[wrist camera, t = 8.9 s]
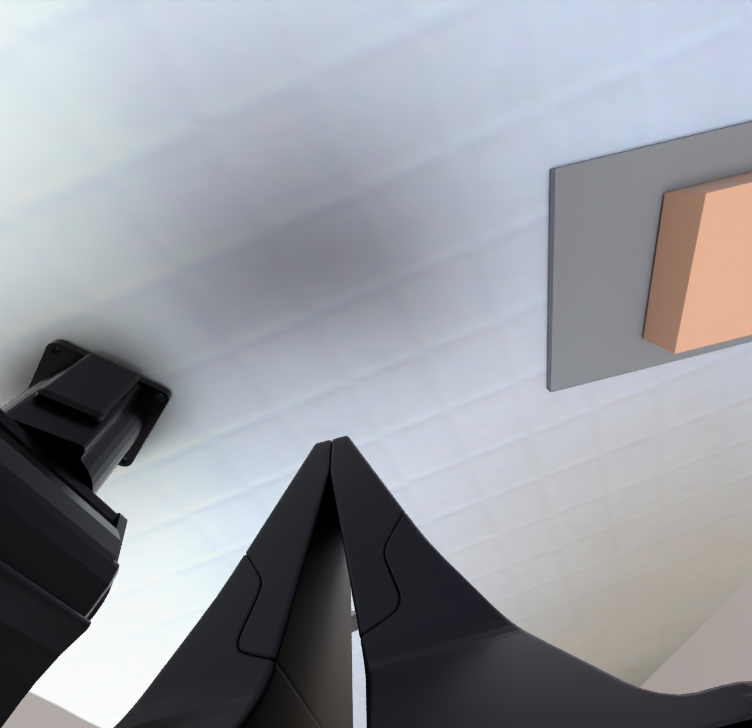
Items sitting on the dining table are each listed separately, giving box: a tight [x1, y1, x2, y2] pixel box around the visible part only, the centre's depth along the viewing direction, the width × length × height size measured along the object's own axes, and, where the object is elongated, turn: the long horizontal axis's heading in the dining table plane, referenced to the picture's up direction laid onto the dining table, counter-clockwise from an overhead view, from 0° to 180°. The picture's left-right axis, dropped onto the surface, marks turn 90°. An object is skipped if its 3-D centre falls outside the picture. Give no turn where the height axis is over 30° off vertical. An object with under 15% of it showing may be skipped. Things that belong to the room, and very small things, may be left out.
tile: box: [643, 172, 752, 354], centre depth 21 cm, size 2×9×9 cm
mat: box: [547, 121, 752, 392], centre depth 22 cm, size 16×14×1 cm
